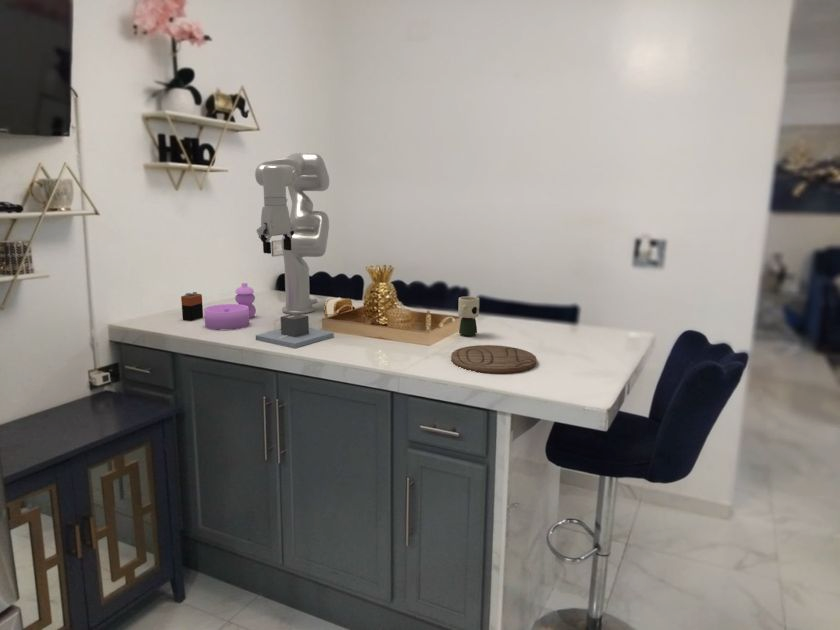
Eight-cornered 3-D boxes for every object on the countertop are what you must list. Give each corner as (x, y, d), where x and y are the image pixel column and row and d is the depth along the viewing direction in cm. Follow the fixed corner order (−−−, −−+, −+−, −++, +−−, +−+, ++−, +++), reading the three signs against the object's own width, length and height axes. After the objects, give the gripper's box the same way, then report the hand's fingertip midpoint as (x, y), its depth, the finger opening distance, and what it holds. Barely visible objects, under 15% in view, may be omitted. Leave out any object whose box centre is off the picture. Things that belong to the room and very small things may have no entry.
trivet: (526, 351, 192) (527, 345, 191) (545, 375, 167) (545, 369, 167) (448, 350, 191) (448, 344, 191) (454, 375, 167) (454, 368, 166)
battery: (182, 320, 227) (180, 293, 225) (194, 316, 233) (193, 290, 231) (191, 321, 225) (189, 294, 223) (203, 317, 232) (202, 291, 229)
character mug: (471, 339, 204) (472, 301, 201) (452, 337, 207) (453, 299, 204) (483, 333, 213) (484, 296, 210) (464, 330, 216) (465, 294, 213)
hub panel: (295, 329, 215) (295, 314, 213) (333, 337, 205) (333, 321, 204) (255, 339, 200) (255, 323, 199) (294, 348, 190) (294, 331, 189)
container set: (235, 331, 211) (233, 294, 208) (196, 328, 214) (194, 292, 212) (268, 316, 235) (267, 283, 232) (233, 314, 238) (231, 281, 235)
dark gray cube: (295, 330, 206) (294, 312, 205) (308, 333, 203) (308, 315, 202) (281, 334, 201) (280, 316, 200) (295, 337, 198) (294, 318, 196)
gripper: (285, 200, 218) (287, 248, 222) (248, 203, 204) (251, 253, 208) (301, 201, 214) (302, 249, 218) (264, 204, 200) (266, 255, 204)
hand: (277, 251), depth 213 cm, fingers open, 9 cm apart
